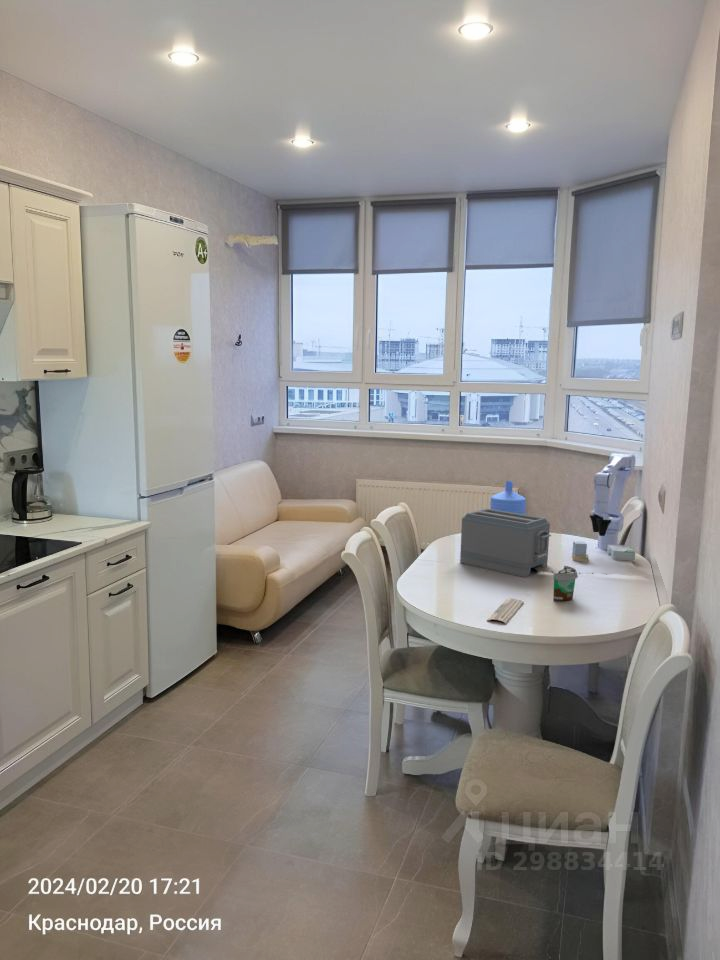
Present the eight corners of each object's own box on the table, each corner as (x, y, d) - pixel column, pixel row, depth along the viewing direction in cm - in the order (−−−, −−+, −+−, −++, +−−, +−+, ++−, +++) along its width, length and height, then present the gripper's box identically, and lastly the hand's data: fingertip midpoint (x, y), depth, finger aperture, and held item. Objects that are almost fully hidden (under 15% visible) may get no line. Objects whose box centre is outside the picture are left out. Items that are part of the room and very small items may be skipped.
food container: (570, 605, 242) (572, 576, 240) (552, 602, 245) (553, 573, 243) (580, 596, 252) (582, 568, 251) (562, 592, 255) (564, 565, 254)
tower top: (571, 557, 300) (572, 552, 300) (587, 558, 299) (587, 553, 298) (572, 560, 294) (573, 555, 294) (588, 561, 293) (588, 557, 293)
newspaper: (505, 626, 222) (506, 621, 222) (483, 622, 225) (483, 617, 225) (523, 605, 243) (523, 600, 243) (502, 601, 246) (503, 596, 246)
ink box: (614, 550, 297) (607, 543, 309) (612, 562, 298) (606, 554, 309) (635, 551, 296) (628, 544, 308) (634, 564, 297) (627, 556, 309)
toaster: (533, 580, 270) (536, 526, 267) (458, 563, 292) (460, 513, 289) (556, 570, 284) (560, 519, 281) (483, 555, 306) (485, 507, 303)
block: (572, 552, 299) (573, 541, 298) (583, 553, 298) (584, 541, 298) (574, 555, 294) (575, 543, 294) (585, 556, 294) (586, 544, 293)
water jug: (527, 547, 320) (530, 484, 316) (491, 546, 320) (494, 484, 316) (519, 539, 335) (523, 479, 331) (485, 538, 335) (488, 478, 331)
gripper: (586, 498, 308) (584, 530, 310) (597, 503, 294) (594, 537, 295) (603, 499, 308) (600, 530, 310) (615, 504, 294) (612, 537, 295)
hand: (598, 533), depth 303 cm, fingers open, 7 cm apart
